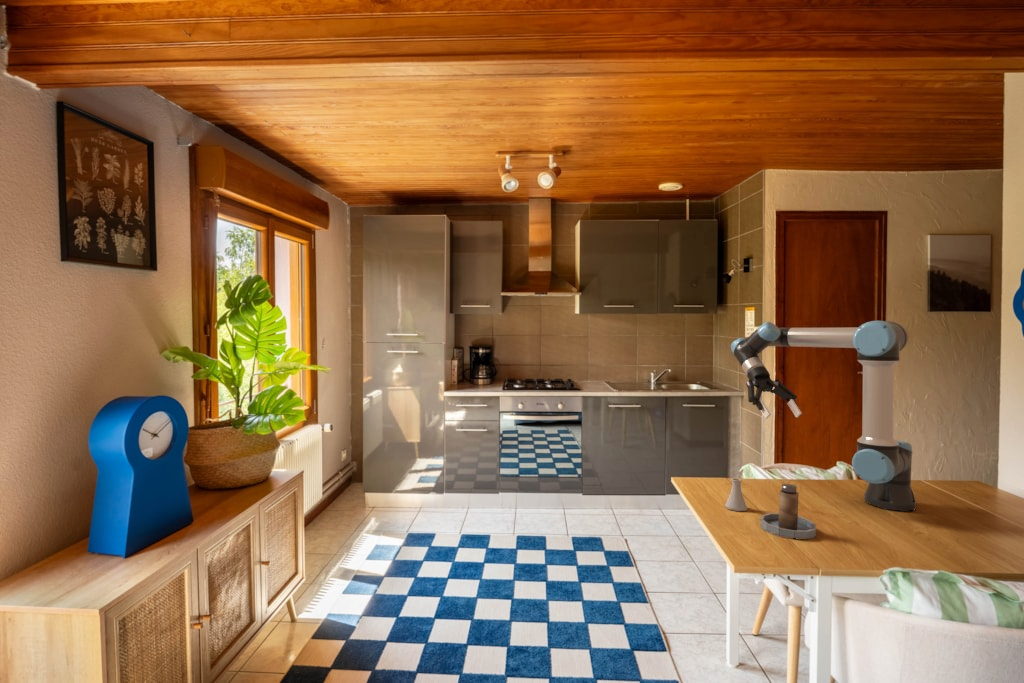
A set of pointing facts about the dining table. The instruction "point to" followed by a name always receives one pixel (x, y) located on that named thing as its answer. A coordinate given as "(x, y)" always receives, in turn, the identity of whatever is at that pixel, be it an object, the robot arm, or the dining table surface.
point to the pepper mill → (788, 507)
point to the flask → (736, 497)
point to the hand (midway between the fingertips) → (783, 416)
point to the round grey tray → (804, 529)
